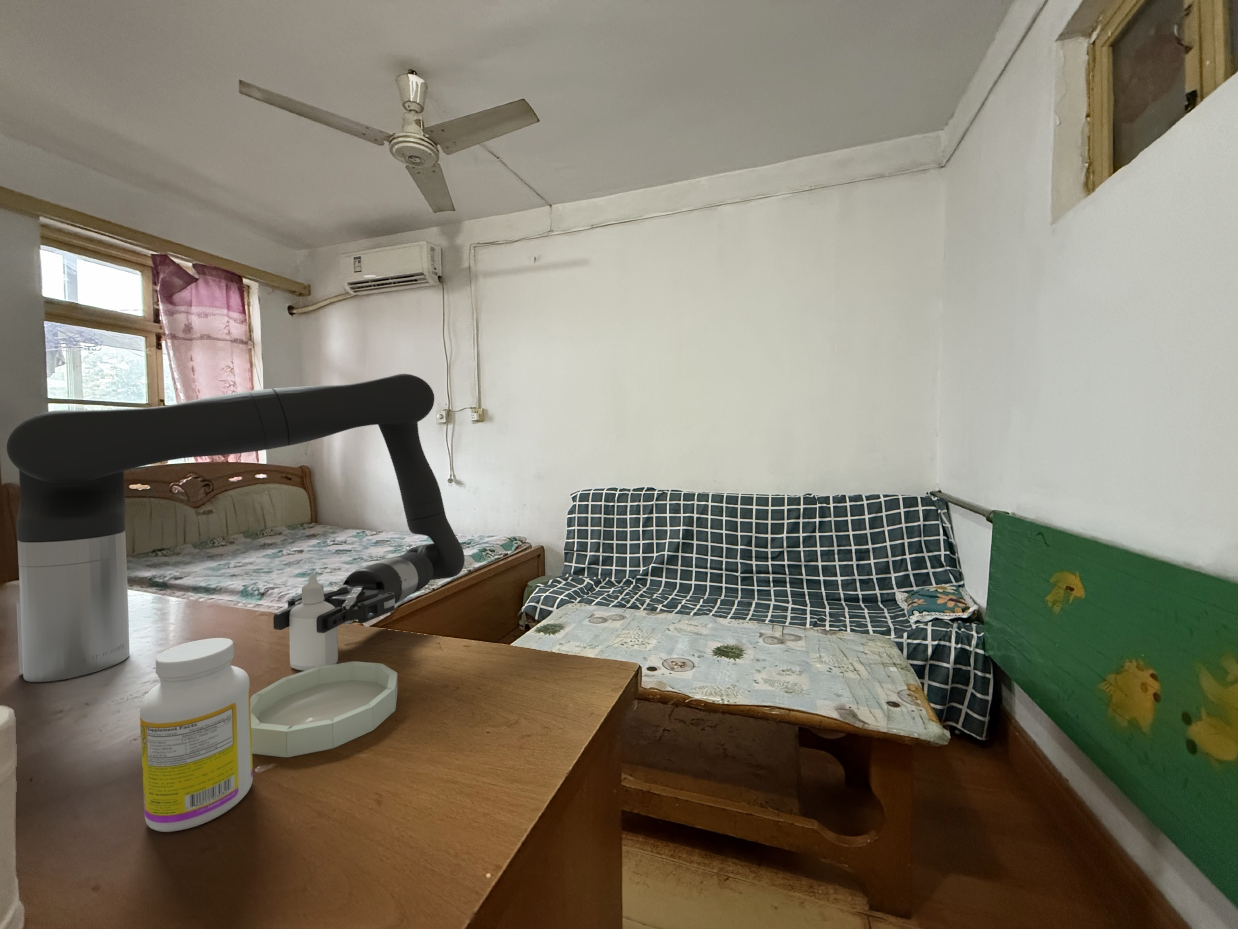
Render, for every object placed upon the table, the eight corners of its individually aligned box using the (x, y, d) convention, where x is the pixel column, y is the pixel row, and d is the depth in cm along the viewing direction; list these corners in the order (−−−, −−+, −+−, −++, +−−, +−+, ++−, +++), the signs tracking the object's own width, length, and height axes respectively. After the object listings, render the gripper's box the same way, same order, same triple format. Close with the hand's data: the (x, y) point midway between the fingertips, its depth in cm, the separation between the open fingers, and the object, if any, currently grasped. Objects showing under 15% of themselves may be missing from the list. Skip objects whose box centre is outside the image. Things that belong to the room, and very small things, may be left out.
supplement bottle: (191, 777, 42) (186, 633, 41) (270, 773, 42) (267, 631, 42) (117, 840, 35) (111, 669, 35) (213, 834, 36) (208, 666, 35)
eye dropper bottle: (304, 678, 60) (302, 583, 59) (286, 665, 63) (284, 575, 63) (341, 665, 63) (340, 575, 63) (322, 654, 67) (321, 568, 66)
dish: (205, 748, 46) (204, 722, 46) (317, 678, 60) (316, 658, 60) (336, 763, 44) (336, 736, 44) (421, 687, 58) (420, 666, 58)
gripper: (341, 560, 78) (246, 592, 61) (423, 564, 76) (348, 597, 59) (342, 606, 78) (248, 649, 62) (424, 610, 76) (349, 657, 59)
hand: (297, 623), depth 60 cm, fingers closed on eye dropper bottle, 5 cm apart
